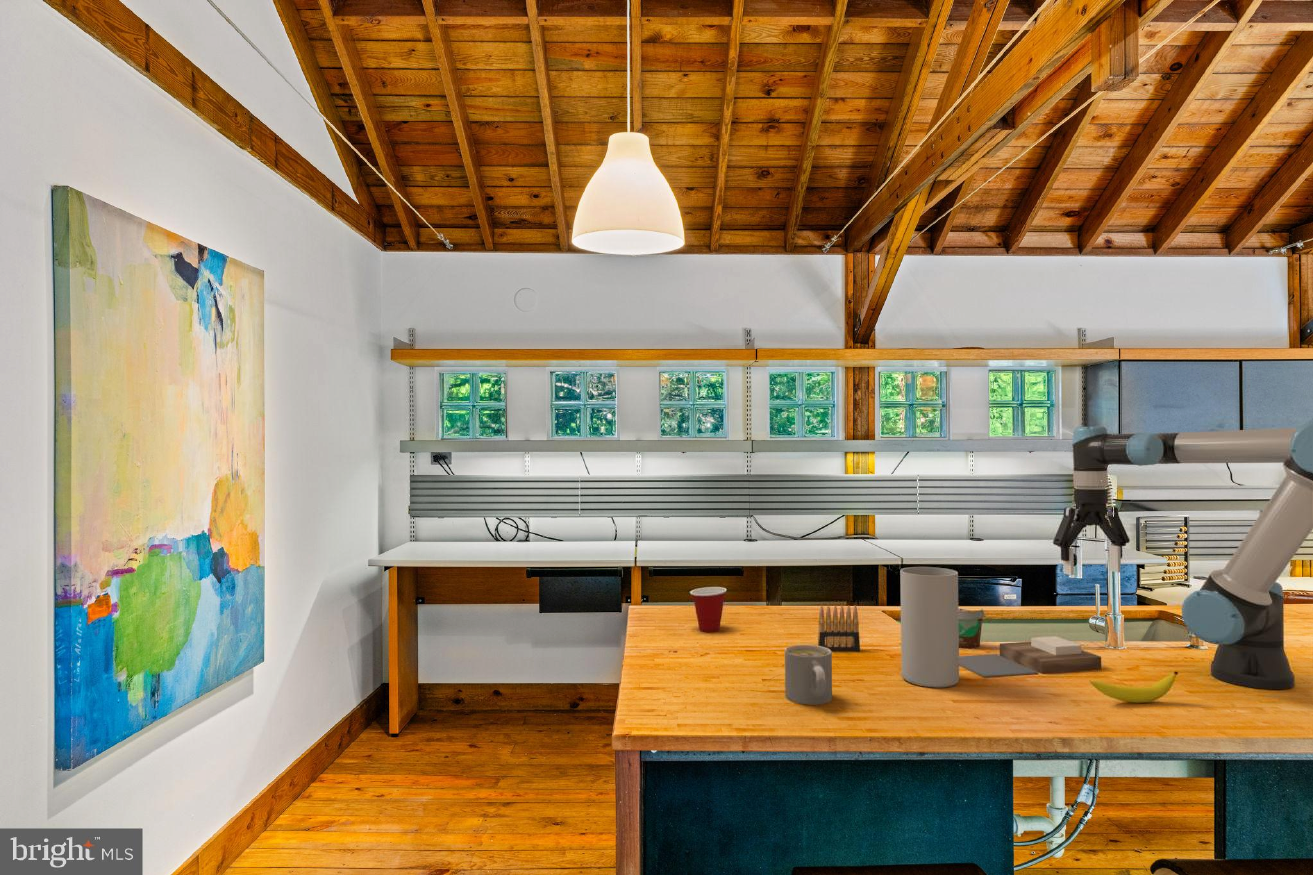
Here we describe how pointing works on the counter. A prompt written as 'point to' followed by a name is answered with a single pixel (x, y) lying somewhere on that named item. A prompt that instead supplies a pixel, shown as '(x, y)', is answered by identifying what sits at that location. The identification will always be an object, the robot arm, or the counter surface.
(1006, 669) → the charcoal mat
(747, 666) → the counter surface
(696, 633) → the counter surface
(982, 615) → the food container
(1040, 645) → the ceramic tile
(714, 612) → the plastic cup
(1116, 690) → the banana
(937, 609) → the cylinder vase
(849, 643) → the ammunition clip
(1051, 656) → the walnut board
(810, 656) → the coffee mug
